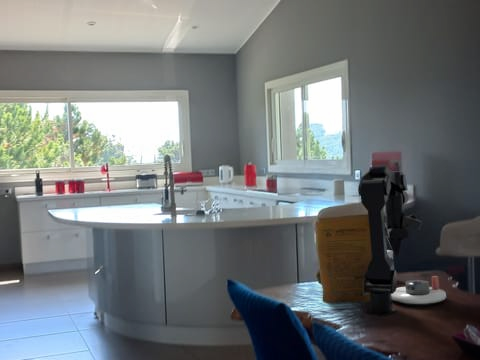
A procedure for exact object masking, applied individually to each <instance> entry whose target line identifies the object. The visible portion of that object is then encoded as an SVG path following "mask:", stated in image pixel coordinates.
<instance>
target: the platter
mask: <svg viewBox="0 0 480 360" xmlns="http://www.w3.org/2000/svg"><path fill="white" fill-rule="evenodd" d="M439 287H440V285H439V276H438V275H433V276H431V286H429V290H430V293H429V294H427V295H409V294H407V293H406V287H405V286H401V287H396V291H395V292H394V293H393V294H391V296H392V301H396V302H398V301H399V303H400V302H404V303H414V304H426V303H435V302H437V303H440V302H442V301H444V300H445V299H446V298H447V292H445V291H444V290H443V289H440V288H439ZM435 304H436V303H435Z"/></svg>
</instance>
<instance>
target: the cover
mask: <svg viewBox="0 0 480 360" xmlns="http://www.w3.org/2000/svg"><path fill="white" fill-rule="evenodd" d="M404 283H405V284H404V285H405V286H404V287H406V293H407V294H409V295H427V294H429V293H430V290H429V287H430V281H427V280H423V279H412V280H406V281H405V282H404Z"/></svg>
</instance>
